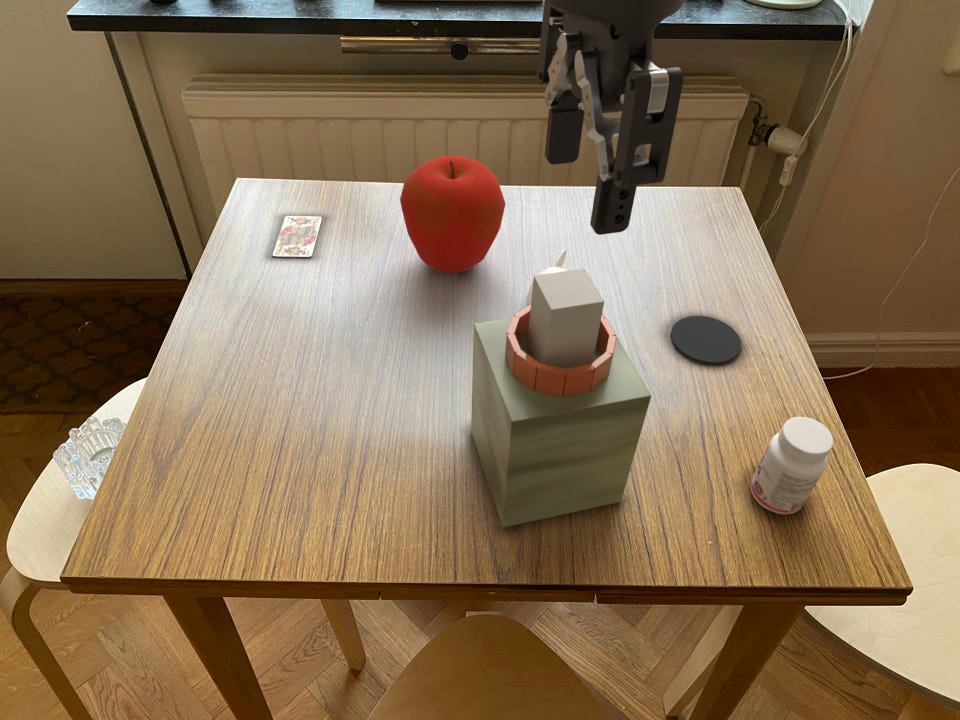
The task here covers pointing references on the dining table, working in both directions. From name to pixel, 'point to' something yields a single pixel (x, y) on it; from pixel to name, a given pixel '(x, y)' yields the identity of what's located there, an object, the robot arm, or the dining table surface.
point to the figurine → (549, 270)
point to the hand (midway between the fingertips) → (582, 193)
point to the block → (564, 319)
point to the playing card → (297, 236)
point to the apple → (452, 212)
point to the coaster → (705, 340)
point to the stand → (552, 433)
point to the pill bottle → (792, 465)
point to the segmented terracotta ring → (552, 376)
